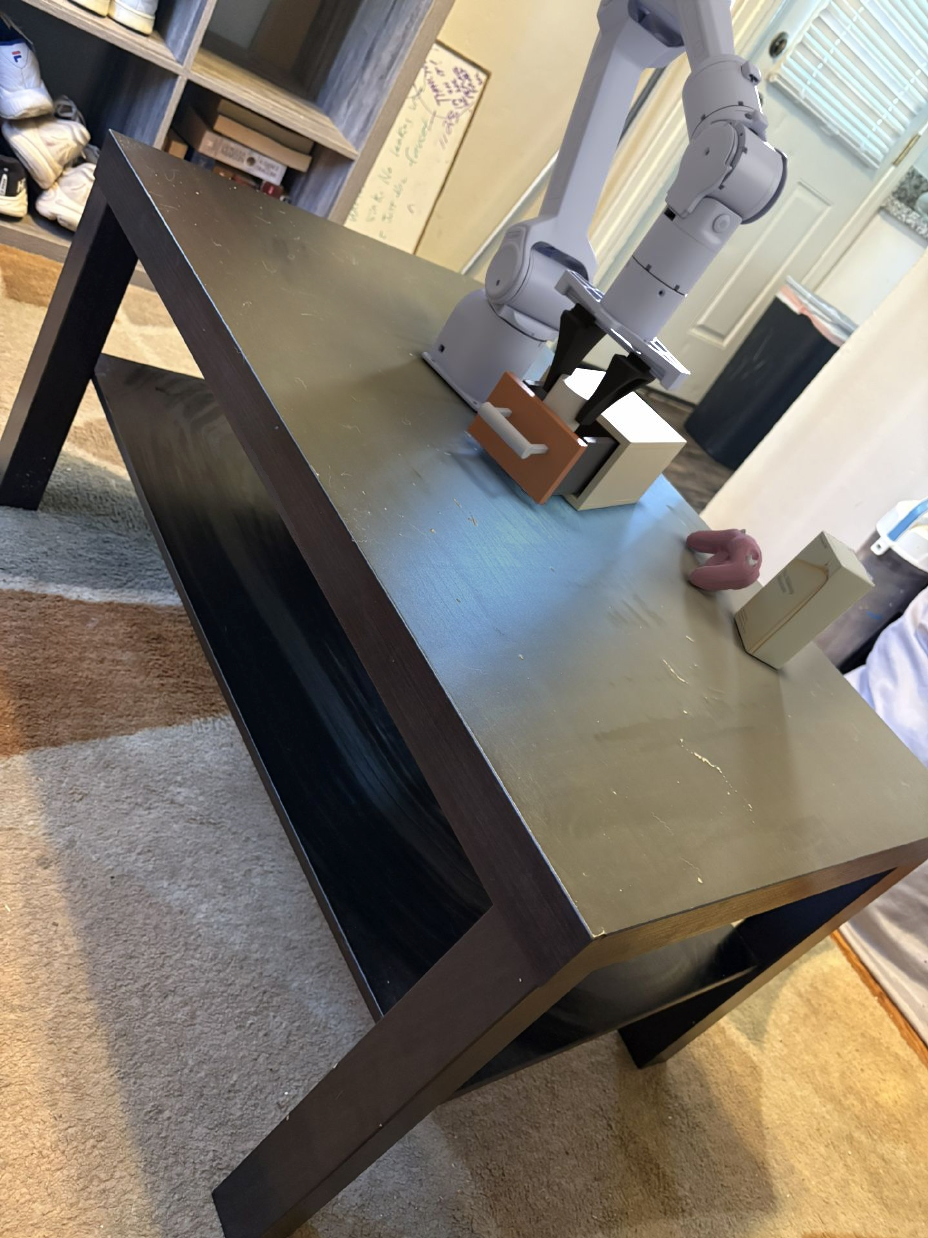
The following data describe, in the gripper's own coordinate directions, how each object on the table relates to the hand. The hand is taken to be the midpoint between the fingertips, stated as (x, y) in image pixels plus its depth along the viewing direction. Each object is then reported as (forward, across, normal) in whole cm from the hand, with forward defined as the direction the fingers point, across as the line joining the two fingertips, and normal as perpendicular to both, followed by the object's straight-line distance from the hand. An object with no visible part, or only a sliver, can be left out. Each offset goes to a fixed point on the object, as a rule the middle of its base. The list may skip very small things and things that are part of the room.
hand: (565, 406), depth 80 cm
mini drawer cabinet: (+8, 0, +11) cm, 13 cm away
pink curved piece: (+8, +17, +17) cm, 25 cm away
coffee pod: (+1, 0, 0) cm, 1 cm away
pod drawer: (+7, 0, 0) cm, 7 cm away
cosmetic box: (+8, +26, +13) cm, 30 cm away
